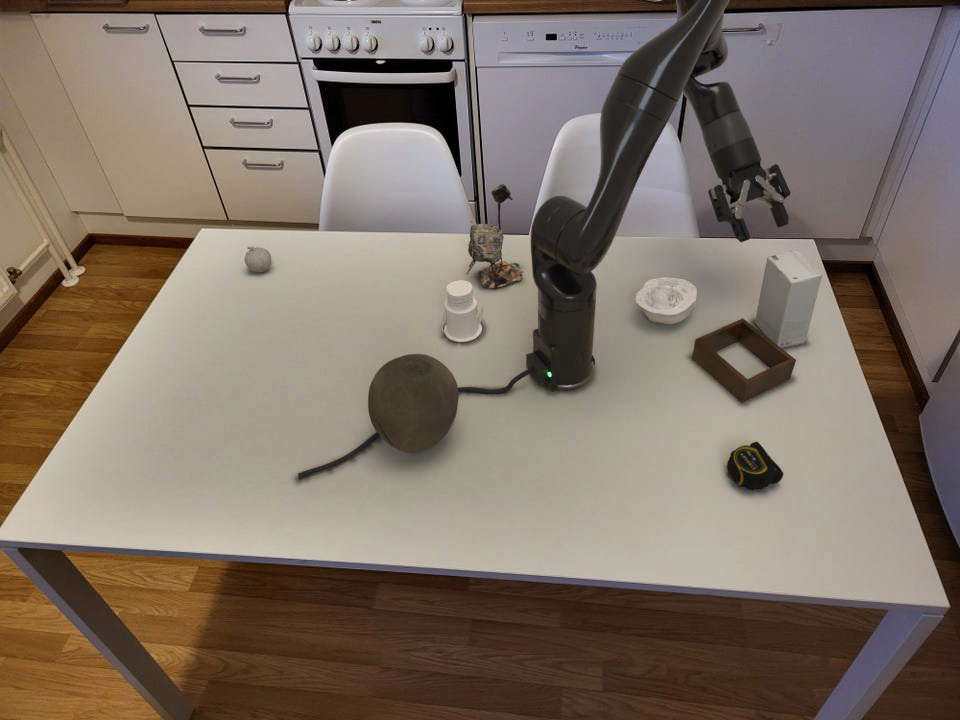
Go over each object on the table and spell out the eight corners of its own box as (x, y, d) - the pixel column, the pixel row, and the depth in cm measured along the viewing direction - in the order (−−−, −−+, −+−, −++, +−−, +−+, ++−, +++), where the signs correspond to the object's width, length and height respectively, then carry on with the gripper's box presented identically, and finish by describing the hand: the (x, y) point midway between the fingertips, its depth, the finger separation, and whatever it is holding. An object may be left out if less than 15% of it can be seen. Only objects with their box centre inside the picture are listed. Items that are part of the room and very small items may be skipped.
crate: (741, 403, 126) (747, 383, 123) (691, 358, 135) (695, 339, 132) (790, 379, 130) (796, 359, 127) (738, 337, 138) (742, 317, 135)
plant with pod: (468, 265, 158) (461, 179, 144) (523, 264, 157) (521, 177, 143) (466, 290, 152) (458, 202, 138) (523, 289, 151) (521, 201, 138)
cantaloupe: (468, 460, 121) (462, 394, 110) (378, 475, 119) (363, 409, 109) (455, 397, 131) (448, 330, 121) (372, 410, 130) (358, 344, 119)
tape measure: (782, 486, 114) (787, 470, 111) (740, 499, 113) (745, 483, 110) (756, 453, 119) (761, 437, 116) (716, 465, 117) (720, 449, 115)
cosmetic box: (805, 344, 136) (826, 276, 126) (773, 350, 135) (792, 283, 125) (781, 314, 142) (799, 248, 132) (750, 321, 141) (767, 254, 131)
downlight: (477, 314, 147) (474, 271, 140) (489, 337, 142) (487, 294, 135) (437, 324, 145) (432, 282, 138) (448, 347, 140) (443, 305, 133)
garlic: (241, 268, 161) (235, 247, 158) (264, 257, 164) (258, 236, 160) (256, 280, 158) (250, 259, 155) (279, 268, 161) (273, 248, 157)
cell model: (707, 316, 143) (713, 287, 138) (659, 342, 138) (664, 313, 133) (668, 289, 149) (672, 260, 144) (621, 314, 144) (624, 285, 140)
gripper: (710, 148, 126) (746, 240, 126) (776, 125, 131) (811, 214, 131) (685, 164, 133) (719, 251, 133) (748, 141, 138) (781, 226, 138)
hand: (764, 233), depth 132 cm, fingers open, 8 cm apart
